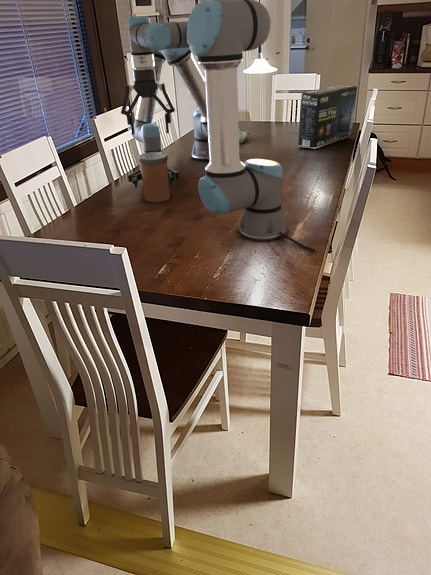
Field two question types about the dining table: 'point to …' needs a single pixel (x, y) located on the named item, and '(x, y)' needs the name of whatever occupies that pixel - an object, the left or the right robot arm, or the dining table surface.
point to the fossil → (243, 134)
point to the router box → (326, 115)
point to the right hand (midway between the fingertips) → (150, 133)
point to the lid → (153, 158)
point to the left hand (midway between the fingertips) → (153, 183)
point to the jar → (155, 182)
